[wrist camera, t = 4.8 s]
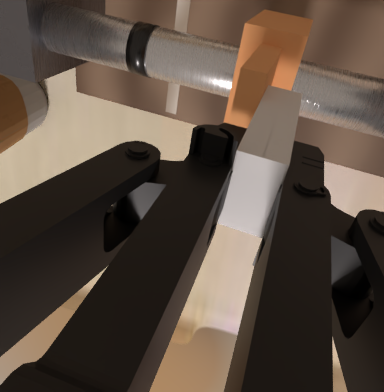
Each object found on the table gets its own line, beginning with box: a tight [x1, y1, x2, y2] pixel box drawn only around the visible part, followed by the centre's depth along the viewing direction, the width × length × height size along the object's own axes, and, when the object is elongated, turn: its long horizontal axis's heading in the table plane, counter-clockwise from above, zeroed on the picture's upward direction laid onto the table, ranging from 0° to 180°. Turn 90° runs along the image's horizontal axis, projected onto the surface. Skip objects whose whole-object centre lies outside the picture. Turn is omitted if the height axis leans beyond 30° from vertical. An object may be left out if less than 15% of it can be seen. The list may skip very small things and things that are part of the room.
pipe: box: [0, 0, 384, 138], centre depth 23 cm, size 29×6×9 cm, turn 82°
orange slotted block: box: [223, 10, 313, 128], centre depth 19 cm, size 3×6×11 cm, turn 172°
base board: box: [76, 0, 384, 177], centre depth 27 cm, size 29×14×2 cm, turn 82°
